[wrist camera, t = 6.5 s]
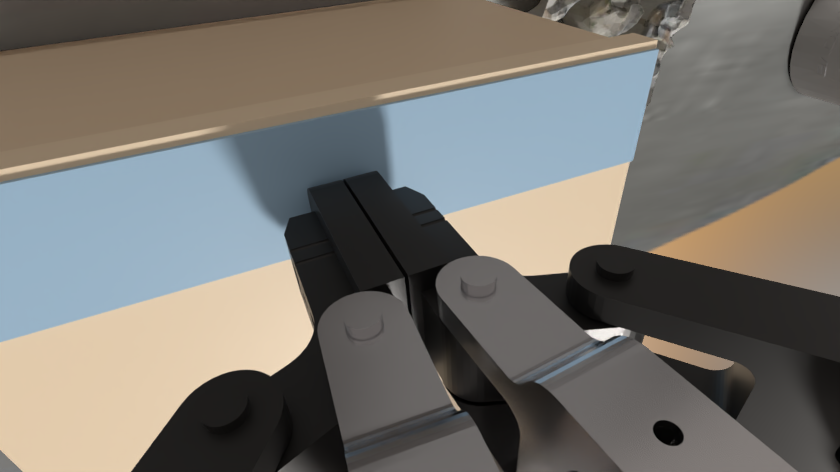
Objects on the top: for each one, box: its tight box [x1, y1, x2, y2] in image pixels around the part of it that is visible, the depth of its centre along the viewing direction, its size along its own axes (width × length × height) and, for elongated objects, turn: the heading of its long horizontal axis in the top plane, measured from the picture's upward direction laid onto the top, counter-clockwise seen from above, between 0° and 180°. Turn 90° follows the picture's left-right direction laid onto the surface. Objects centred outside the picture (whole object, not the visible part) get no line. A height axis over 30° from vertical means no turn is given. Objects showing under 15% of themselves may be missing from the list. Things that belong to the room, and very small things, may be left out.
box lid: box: [0, 33, 659, 472], centre depth 14 cm, size 16×16×1 cm
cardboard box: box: [0, 0, 609, 152], centre depth 18 cm, size 16×16×10 cm
